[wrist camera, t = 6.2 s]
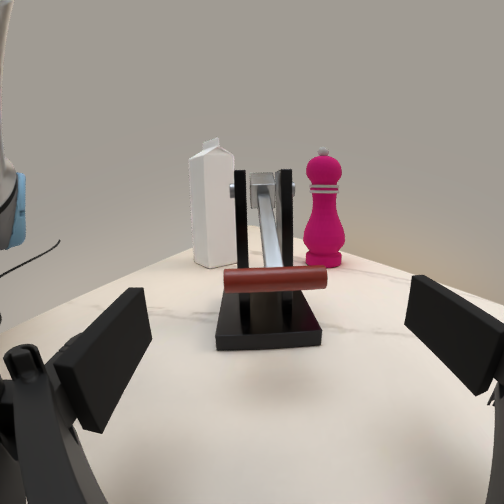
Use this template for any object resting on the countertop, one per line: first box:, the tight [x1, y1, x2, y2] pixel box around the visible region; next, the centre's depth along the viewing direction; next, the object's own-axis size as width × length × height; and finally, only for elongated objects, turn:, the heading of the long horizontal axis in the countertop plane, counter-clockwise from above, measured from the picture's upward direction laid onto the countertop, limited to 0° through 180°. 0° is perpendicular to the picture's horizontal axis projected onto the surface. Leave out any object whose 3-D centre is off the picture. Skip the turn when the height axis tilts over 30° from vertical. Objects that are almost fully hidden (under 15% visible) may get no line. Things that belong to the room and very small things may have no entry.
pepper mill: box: [303, 147, 345, 268], centre depth 47 cm, size 7×7×20 cm
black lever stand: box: [215, 169, 322, 350], centre depth 28 cm, size 12×9×15 cm
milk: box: [189, 137, 237, 269], centre depth 50 cm, size 6×6×22 cm
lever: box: [224, 173, 328, 293], centre depth 22 cm, size 14×6×2 cm, turn 1°
